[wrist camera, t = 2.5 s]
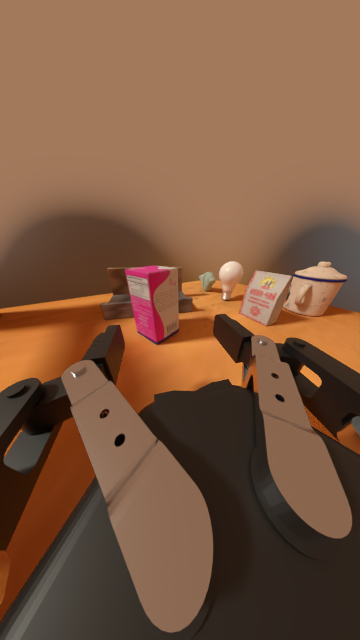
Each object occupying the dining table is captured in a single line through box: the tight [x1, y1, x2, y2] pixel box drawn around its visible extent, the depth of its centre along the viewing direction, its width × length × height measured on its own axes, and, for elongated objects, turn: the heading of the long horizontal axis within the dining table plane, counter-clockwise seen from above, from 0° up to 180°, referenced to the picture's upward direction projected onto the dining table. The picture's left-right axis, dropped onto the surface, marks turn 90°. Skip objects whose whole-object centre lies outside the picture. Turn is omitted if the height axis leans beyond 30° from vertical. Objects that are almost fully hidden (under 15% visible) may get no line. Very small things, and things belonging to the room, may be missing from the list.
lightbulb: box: [219, 261, 243, 300], centre depth 37 cm, size 6×6×11 cm
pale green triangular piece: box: [199, 272, 215, 291], centre depth 46 cm, size 8×4×7 cm, turn 28°
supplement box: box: [125, 266, 179, 345], centre depth 22 cm, size 6×6×12 cm
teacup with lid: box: [283, 262, 347, 316], centre depth 31 cm, size 12×9×12 cm
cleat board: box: [101, 267, 193, 320], centre depth 33 cm, size 20×13×9 cm, turn 103°
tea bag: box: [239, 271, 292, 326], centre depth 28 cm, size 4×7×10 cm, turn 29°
